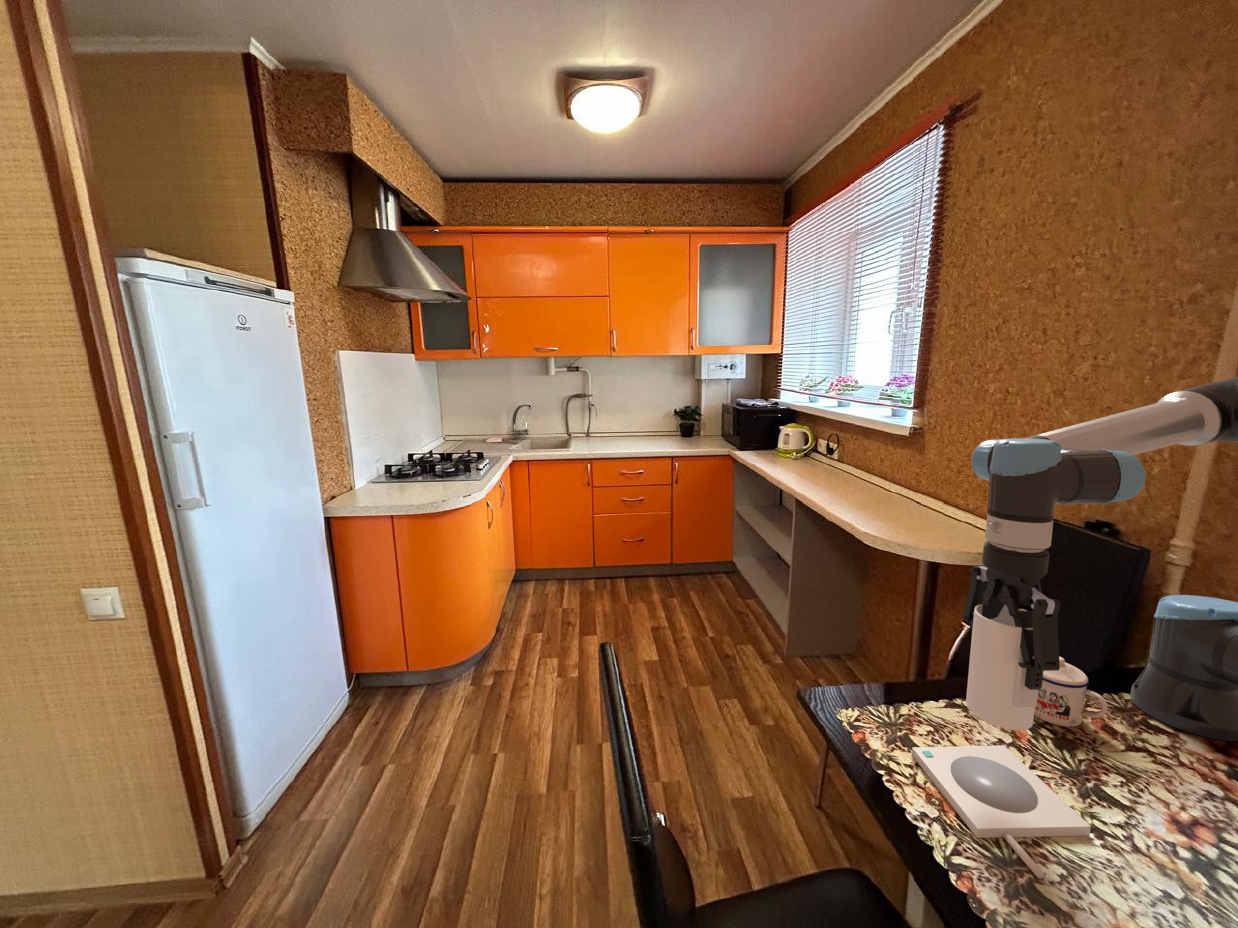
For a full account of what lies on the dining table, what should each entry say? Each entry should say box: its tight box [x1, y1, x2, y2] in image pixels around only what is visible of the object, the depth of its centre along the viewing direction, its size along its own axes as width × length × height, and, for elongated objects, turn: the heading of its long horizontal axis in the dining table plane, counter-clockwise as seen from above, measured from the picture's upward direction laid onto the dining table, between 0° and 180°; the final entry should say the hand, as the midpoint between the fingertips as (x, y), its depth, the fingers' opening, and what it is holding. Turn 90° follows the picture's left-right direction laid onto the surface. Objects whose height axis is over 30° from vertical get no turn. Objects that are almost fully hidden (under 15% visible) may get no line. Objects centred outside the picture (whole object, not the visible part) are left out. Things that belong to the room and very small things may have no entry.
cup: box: [965, 604, 1035, 731], centre depth 75 cm, size 8×8×16 cm
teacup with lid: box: [1034, 655, 1109, 728], centre depth 94 cm, size 12×9×12 cm
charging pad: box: [911, 745, 1091, 880], centre depth 75 cm, size 16×22×2 cm
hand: (1001, 686), depth 75 cm, fingers closed on cup, 8 cm apart
